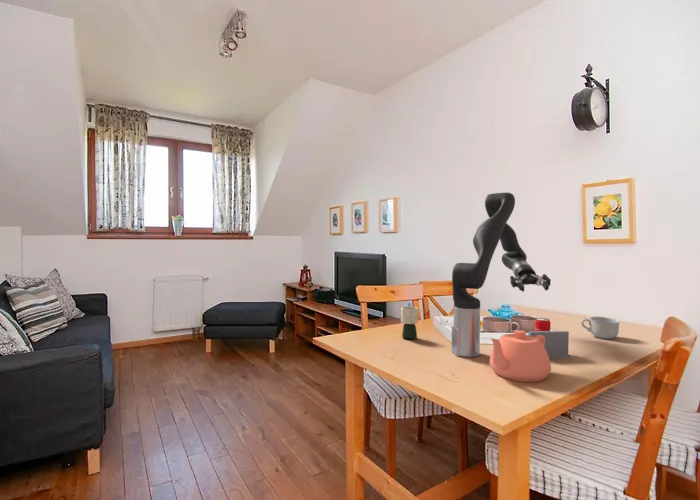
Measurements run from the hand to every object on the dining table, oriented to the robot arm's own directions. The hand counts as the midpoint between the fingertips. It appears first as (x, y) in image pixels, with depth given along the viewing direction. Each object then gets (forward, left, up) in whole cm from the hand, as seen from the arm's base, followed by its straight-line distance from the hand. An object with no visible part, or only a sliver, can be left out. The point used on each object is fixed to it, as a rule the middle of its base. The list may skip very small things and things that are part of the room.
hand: (535, 288), depth 146 cm
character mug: (-45, +16, -23) cm, 54 cm away
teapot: (-21, -28, -23) cm, 42 cm away
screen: (-1, -12, -23) cm, 26 cm away
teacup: (+38, +14, -23) cm, 46 cm away
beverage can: (+1, -5, -23) cm, 24 cm away
